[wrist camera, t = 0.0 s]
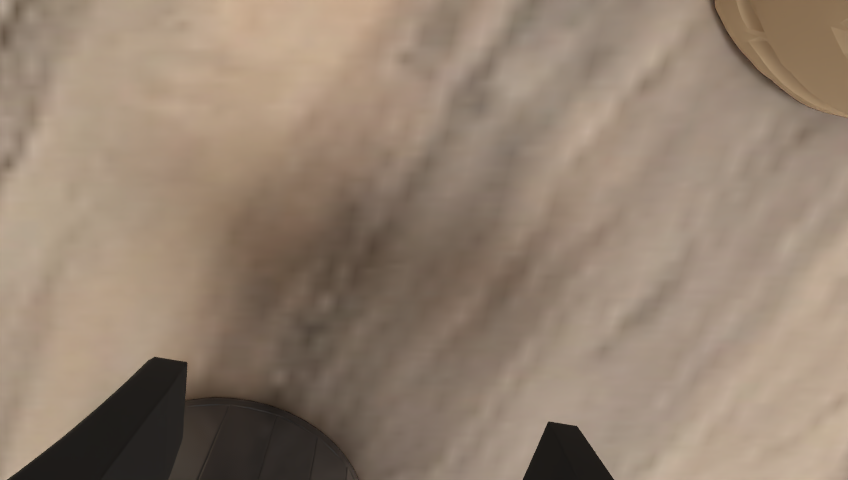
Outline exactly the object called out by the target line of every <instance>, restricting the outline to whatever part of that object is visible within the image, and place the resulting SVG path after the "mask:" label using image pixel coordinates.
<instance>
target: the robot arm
mask: <svg viewBox="0 0 848 480" xmlns="http://www.w3.org/2000/svg"><path fill="white" fill-rule="evenodd" d="M186 377H187V362H183V361H176V360H170V359H164V358H158V357H154V358H152V359H150V360H148V361H147V362H146V363H145V364H144V365H143V366H142V367H141V368H140V369H139V370H138V371H137V372H136V373H135V374H134V375H133V376H132V377H131V378H130V379H129V380H128V381H127V382H125V383H124V384H123V385H122V386H121V387H120V388H119V389H118V390H117V391H116V392H115V393H114V394H112V395H111V396H110V397H109V398H108V399H107V400H106V401H105V402H104V403H102V404H101V405H100V406H99V407H98V408H97V409H96V410H94V411H93V412H92V413H91V414H90V415H89V416H87V417H86V418H85V419H84V420H83V421H81V422H80V423H79V424H78V425H77V426H76V427H74V428H73V429H72V430H71V431H70V432H68V433H67V434H66V435H65V436H64V437H62V438H61V439H60V440H59V441H57V442H56V443H55V444H54V445H52V446H51V447H50V448H48V449H47V450H46V451H44V452H43V453H42V454H41V455H39V456H38V457H37V458H35V459H34V460H33V461H32V462H30V463H29V464H28V465H26V466H25V467H24V468H22V469H21V470H20V471H19V472H17V473H16V474H14V475H13V476H12V477H10V478H9V479H7V480H168V479H169V477H170V474H171V471H172V468H173V465H174V463H175V460H176V457H177V454H178V451H179V448H180V445H181V442H182V440H183V426H184V410H185V393H186ZM523 480H614V479H613V478H612V476H611V475H610V473H609V472H608V470H607V469H606V467H605V466H604V465H603V463H602V462H601V460H600V459H599V457H598V456H597V454H596V453H595V451H594V450H593V448H592V447H591V446H590V444H589V443H588V441H587V440H586V438H585V437H584V435H583V434H582V433H581V431H580V430H579V428H578V427H577V426H573V425H567V424H561V423H554V422H548V424H547V426H546V428H545V431H544V433H543V435H542V437H541V440H540V442H539V444H538V446H537V449H536V451H535V453H534V455H533V458H532V460H531V462H530V465H529V467H528V469H527V471H526V474H525V476H524V478H523Z"/></svg>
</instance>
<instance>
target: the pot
mask: <svg viewBox="0 0 848 480" xmlns="http://www.w3.org/2000/svg"><path fill="white" fill-rule="evenodd" d="M168 480H358V477H357V475H356V473H355V471H354V469H353V467H352V466H351V464H350V463H349V461H348V460H347V458H346V457H345V455H344V454H343V453H342V452H341V451H340V449H339V448H338V447H337V446H336V445H335V444H334V443H333V442H332V441H331V440H330V439H329V438H328V437H327V436H325V435H324V434H323V433H322V432H321V431H319V430H318V429H316V428H315V427H313V426H312V425H310V424H309V423H308V422H306V421H304V420H302V419H300V418H298V417H296V416H295V415H293V414H291V413H289V412H286V411H283V410H281V409H278V408H275V407H273V406H270V405H266V404H262V403H258V402H254V401H248V400H241V399H234V398H204V399H193V400H188V401H185V410H184V426H183V440H182V442H181V445H180V448H179V451H178V454H177V457H176V460H175V463H174V465H173V468H172V471H171V474H170V477H169V479H168Z"/></svg>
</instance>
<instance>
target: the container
mask: <svg viewBox="0 0 848 480" xmlns="http://www.w3.org/2000/svg"><path fill="white" fill-rule="evenodd" d="M715 9H716V11H717V12H718V14H719V16H720V18H721V20H722V22H723V24H724V26H725V28H726V30H727V32H728V33H729V35H730V36H731V38H732V40H733V41H734V42H735V44H736V45H737V46H738V48H739V49H740V50H741V51H742V52H743V54H744V55H745V56H746V57H747V58H748V59H749V60H750V61H751V62H752V63H753V64H754V66H755V67H756V68H757V69H758V70H759V71H760V72H761V73H762V74H764V75H765V76H766V77H768V78H769V79H771V80H772V81H773V82H774V83H775V84H776V85H777V86H779V87H780V88H781V89H783V90H784V91H785V92H786V93H788V94H789V95H790V96H792V97H793V98H795V99H796V100H797V101H799V102H801V103H803V104H805V105H806V106H808V107H810V108H813V109H816V110H819V111H822V112H825V113H829V114H833V115H838V116H842V117H846V118H848V0H715Z"/></svg>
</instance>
